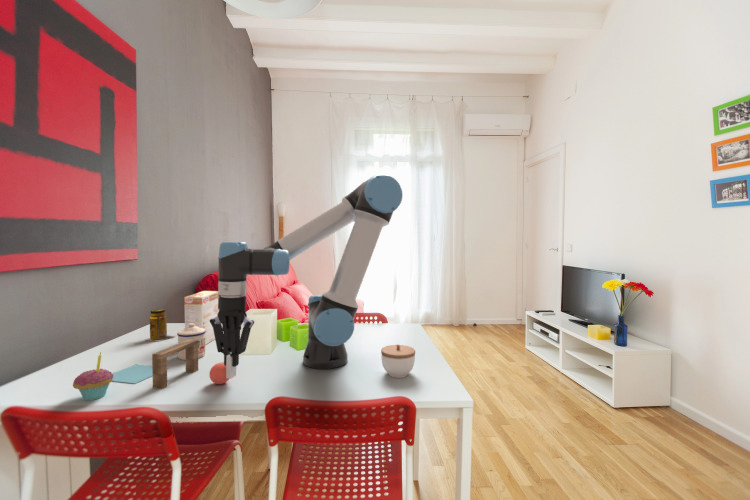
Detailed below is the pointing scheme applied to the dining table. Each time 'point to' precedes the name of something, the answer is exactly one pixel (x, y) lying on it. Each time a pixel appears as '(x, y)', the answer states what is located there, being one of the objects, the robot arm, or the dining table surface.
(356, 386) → the dining table surface
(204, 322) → the coffeecake box
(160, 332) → the condiment
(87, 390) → the cupcake
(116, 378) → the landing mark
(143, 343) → the dining table surface
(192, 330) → the teacup with lid
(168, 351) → the bridge
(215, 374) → the ball
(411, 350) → the lidded jar
